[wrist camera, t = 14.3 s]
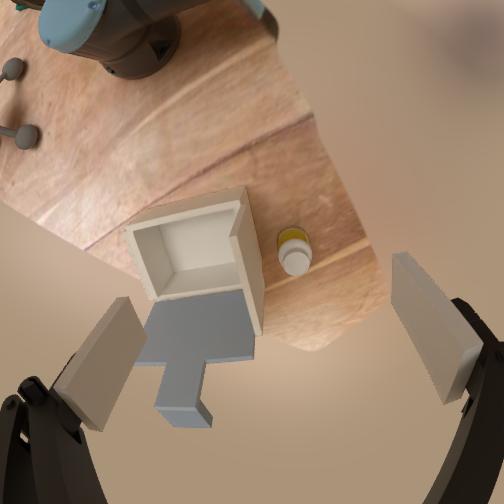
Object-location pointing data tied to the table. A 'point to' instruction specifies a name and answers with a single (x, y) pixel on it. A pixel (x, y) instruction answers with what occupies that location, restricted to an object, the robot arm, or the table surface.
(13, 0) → the tabletop clock
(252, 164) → the table surface
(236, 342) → the flap
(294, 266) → the supplement bottle
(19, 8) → the digital multimeter
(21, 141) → the molecular model
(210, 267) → the carton
